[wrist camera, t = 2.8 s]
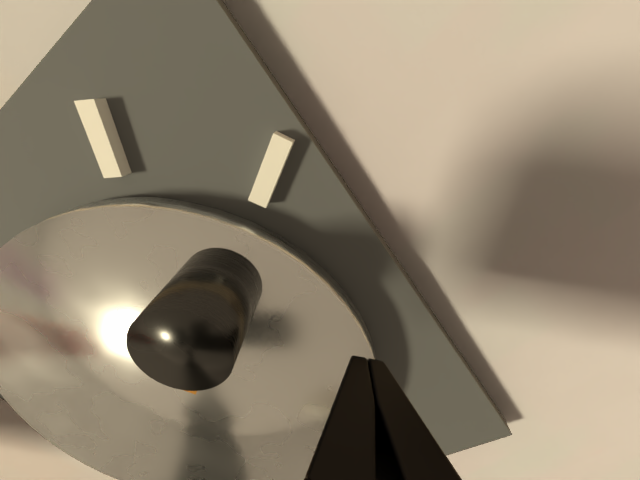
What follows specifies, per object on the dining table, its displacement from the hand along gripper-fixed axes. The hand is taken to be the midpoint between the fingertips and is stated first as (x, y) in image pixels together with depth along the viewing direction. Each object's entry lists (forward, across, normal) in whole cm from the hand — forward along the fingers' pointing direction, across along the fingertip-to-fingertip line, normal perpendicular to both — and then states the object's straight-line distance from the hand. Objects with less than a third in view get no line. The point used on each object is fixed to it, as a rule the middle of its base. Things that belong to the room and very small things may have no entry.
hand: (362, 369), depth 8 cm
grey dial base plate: (+4, +6, +6) cm, 9 cm away
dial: (+3, +6, +6) cm, 9 cm away
